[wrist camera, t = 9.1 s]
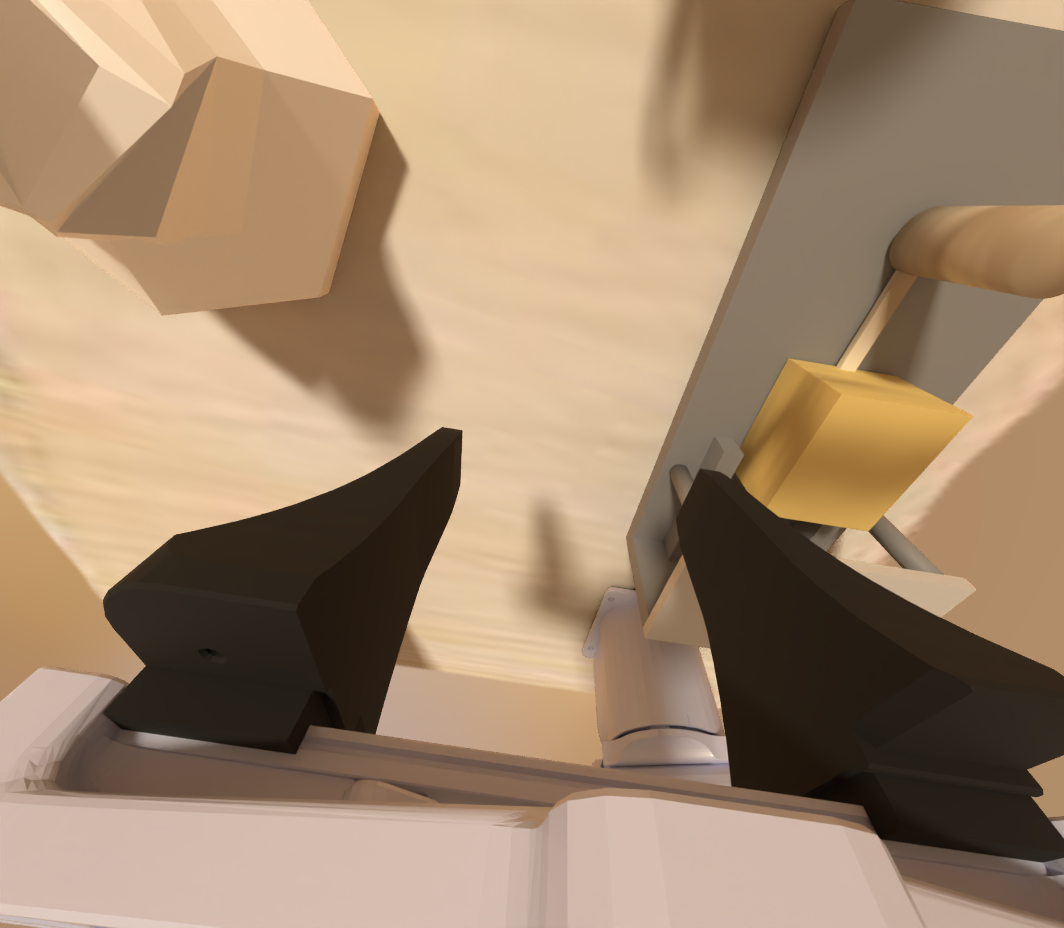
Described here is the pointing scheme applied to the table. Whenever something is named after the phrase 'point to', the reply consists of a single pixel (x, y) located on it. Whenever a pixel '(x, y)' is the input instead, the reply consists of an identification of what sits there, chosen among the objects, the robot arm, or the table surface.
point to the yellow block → (884, 400)
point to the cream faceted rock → (185, 143)
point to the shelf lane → (863, 259)
